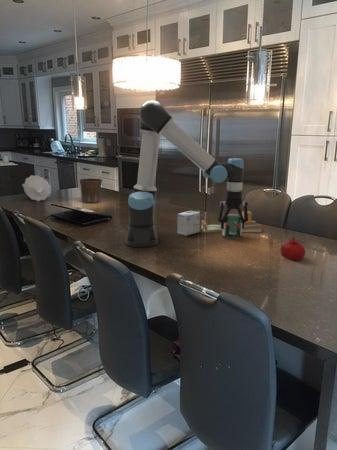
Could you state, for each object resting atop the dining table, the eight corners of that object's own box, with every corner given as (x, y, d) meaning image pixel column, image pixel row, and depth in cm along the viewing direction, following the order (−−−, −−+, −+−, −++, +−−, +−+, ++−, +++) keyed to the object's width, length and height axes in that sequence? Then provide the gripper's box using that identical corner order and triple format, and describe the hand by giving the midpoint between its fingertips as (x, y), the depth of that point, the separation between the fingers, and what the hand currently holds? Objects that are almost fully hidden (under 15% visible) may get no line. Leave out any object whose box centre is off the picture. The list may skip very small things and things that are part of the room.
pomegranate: (291, 264, 151) (293, 242, 148) (275, 256, 160) (276, 235, 157) (310, 260, 155) (312, 239, 152) (293, 252, 163) (295, 232, 161)
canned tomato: (221, 235, 190) (222, 214, 187) (234, 233, 193) (235, 212, 190) (229, 239, 183) (230, 217, 180) (242, 237, 186) (244, 216, 183)
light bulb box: (190, 229, 199) (191, 210, 197) (200, 232, 195) (200, 212, 192) (176, 233, 192) (177, 213, 189) (186, 236, 188) (186, 215, 185)
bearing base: (261, 231, 197) (262, 217, 194) (204, 232, 193) (205, 217, 191) (255, 226, 206) (256, 212, 204) (201, 227, 203) (201, 213, 201)
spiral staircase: (41, 201, 291) (47, 205, 269) (18, 192, 282) (22, 196, 260) (49, 179, 291) (56, 182, 269) (27, 170, 282) (32, 172, 260)
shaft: (250, 227, 198) (251, 212, 196) (234, 227, 198) (235, 212, 195) (248, 225, 202) (249, 211, 200) (232, 225, 201) (233, 211, 199)
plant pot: (92, 198, 281) (91, 177, 277) (107, 201, 272) (106, 179, 268) (75, 202, 268) (74, 179, 264) (90, 204, 259) (89, 181, 255)
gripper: (252, 188, 187) (249, 232, 192) (212, 189, 185) (210, 233, 190) (257, 191, 179) (254, 236, 185) (215, 191, 177) (213, 237, 183)
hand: (231, 234), depth 188 cm, fingers closed on canned tomato, 8 cm apart
